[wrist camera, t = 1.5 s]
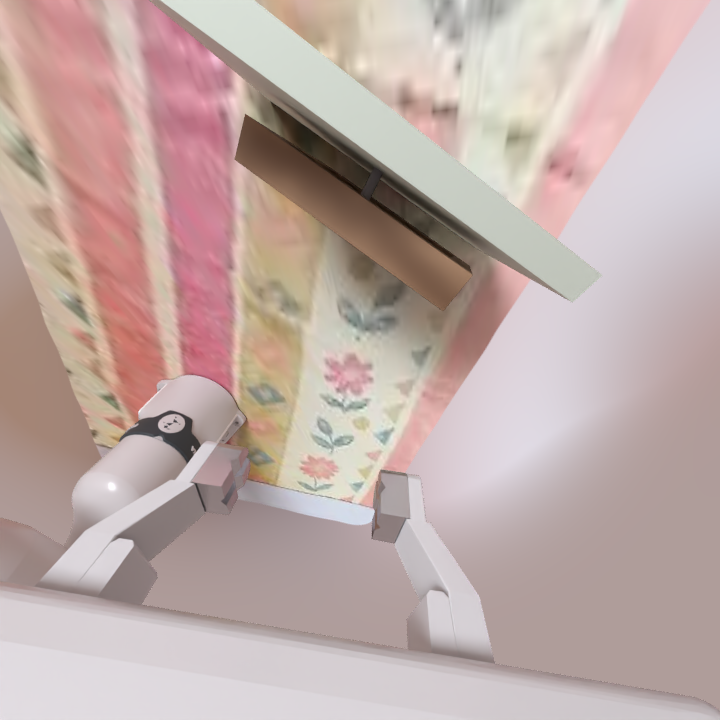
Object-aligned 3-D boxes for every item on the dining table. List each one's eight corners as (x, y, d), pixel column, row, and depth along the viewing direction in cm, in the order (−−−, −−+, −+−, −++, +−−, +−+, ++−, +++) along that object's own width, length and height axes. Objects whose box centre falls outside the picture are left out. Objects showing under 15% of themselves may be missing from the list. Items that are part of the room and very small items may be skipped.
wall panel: (460, 266, 37) (534, 336, 18) (262, 130, 31) (69, 25, 12) (503, 210, 33) (655, 227, 14) (285, 42, 27) (53, -315, 8)
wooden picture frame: (451, 288, 31) (443, 311, 19) (321, 194, 32) (234, 159, 20) (469, 266, 29) (472, 275, 17) (331, 168, 31) (245, 113, 19)
